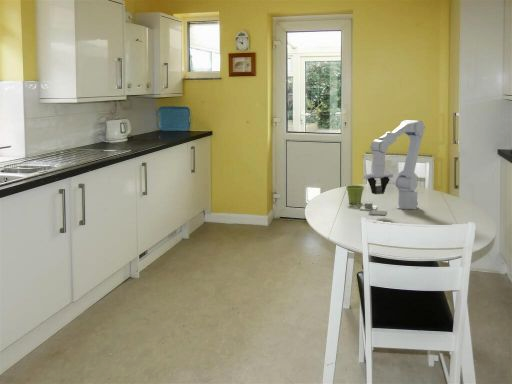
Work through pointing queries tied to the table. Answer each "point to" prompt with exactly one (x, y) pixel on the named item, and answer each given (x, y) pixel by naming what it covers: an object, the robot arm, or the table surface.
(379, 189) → the dark grey rounded piece
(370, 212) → the coaster
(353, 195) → the plant pot
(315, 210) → the table surface
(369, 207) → the grey square holder
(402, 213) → the table surface
